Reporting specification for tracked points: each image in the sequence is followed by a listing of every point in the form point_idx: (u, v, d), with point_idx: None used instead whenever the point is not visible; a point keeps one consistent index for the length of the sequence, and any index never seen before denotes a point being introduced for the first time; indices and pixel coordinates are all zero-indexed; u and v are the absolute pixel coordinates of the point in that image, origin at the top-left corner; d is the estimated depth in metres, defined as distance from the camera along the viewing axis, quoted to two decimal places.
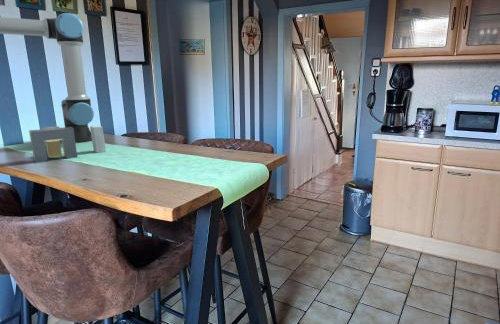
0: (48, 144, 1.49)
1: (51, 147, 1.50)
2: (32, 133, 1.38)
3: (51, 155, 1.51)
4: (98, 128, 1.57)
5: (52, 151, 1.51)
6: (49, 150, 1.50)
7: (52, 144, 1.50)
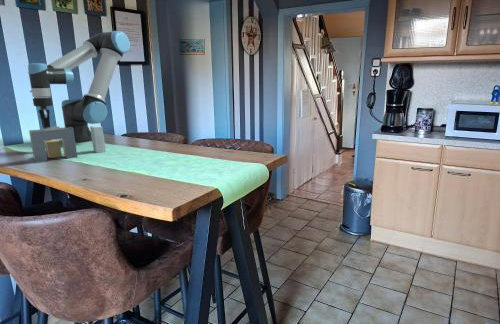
0: (48, 144, 1.48)
1: (51, 147, 1.49)
2: (32, 133, 1.38)
3: (51, 156, 1.50)
4: (98, 128, 1.57)
5: (52, 152, 1.50)
6: (49, 151, 1.49)
7: (52, 144, 1.49)
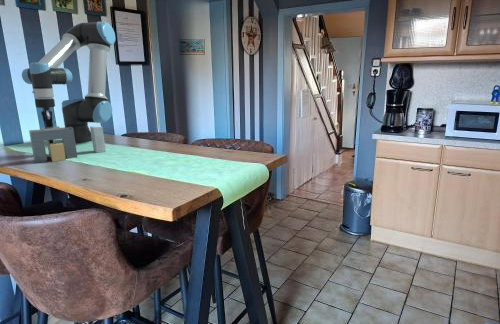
0: (51, 148, 1.42)
1: (55, 150, 1.42)
2: (32, 133, 1.38)
3: (54, 159, 1.43)
4: (98, 128, 1.57)
5: (55, 155, 1.43)
6: (52, 154, 1.42)
7: (56, 147, 1.42)
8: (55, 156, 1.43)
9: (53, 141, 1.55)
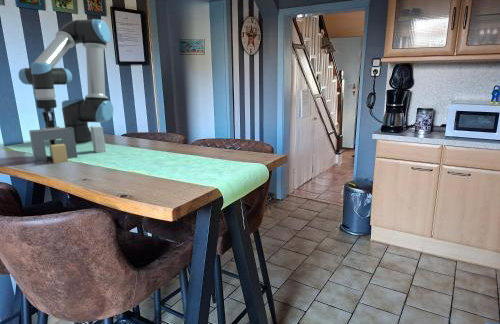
0: (53, 149, 1.39)
1: (57, 152, 1.40)
2: (32, 133, 1.38)
3: (56, 161, 1.40)
4: (98, 128, 1.57)
5: (57, 157, 1.40)
6: (54, 156, 1.39)
7: (58, 149, 1.40)
8: (57, 158, 1.40)
9: (55, 142, 1.53)
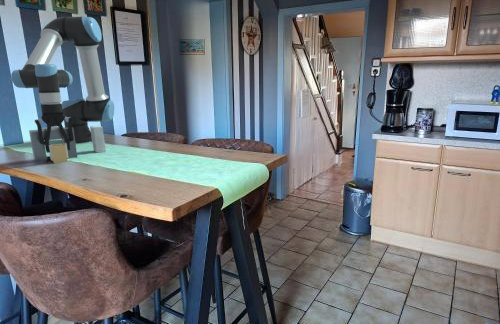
0: (53, 149, 1.39)
1: (56, 152, 1.40)
2: (32, 133, 1.38)
3: (56, 161, 1.40)
4: (98, 128, 1.57)
5: (57, 157, 1.40)
6: (54, 155, 1.39)
7: (57, 149, 1.40)
8: (56, 158, 1.40)
9: (49, 151, 1.39)
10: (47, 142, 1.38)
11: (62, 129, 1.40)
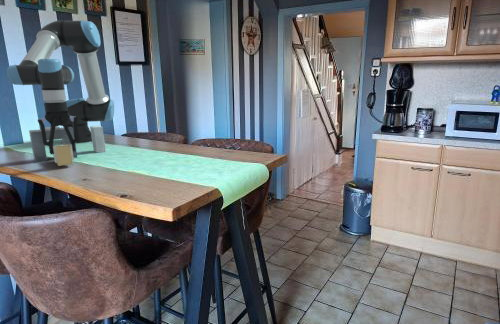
0: (57, 151, 1.29)
1: (61, 154, 1.30)
2: (32, 133, 1.38)
3: (60, 163, 1.31)
4: (98, 128, 1.57)
5: (62, 159, 1.31)
6: (58, 157, 1.30)
7: (62, 150, 1.30)
8: (61, 160, 1.31)
9: (53, 152, 1.30)
10: (51, 143, 1.28)
11: (67, 129, 1.30)
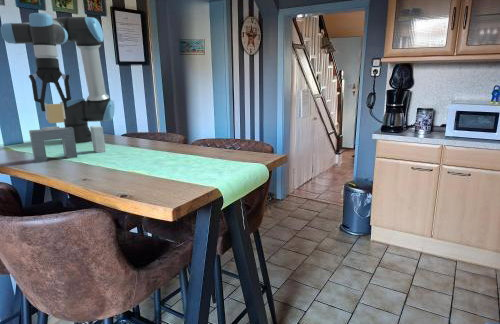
0: (48, 108, 1.29)
1: (52, 111, 1.30)
2: (32, 133, 1.38)
3: (52, 121, 1.30)
4: (98, 128, 1.57)
5: (53, 116, 1.30)
6: (50, 115, 1.30)
7: (53, 108, 1.30)
8: (53, 117, 1.30)
9: (45, 110, 1.29)
10: (42, 100, 1.28)
11: (59, 87, 1.30)
